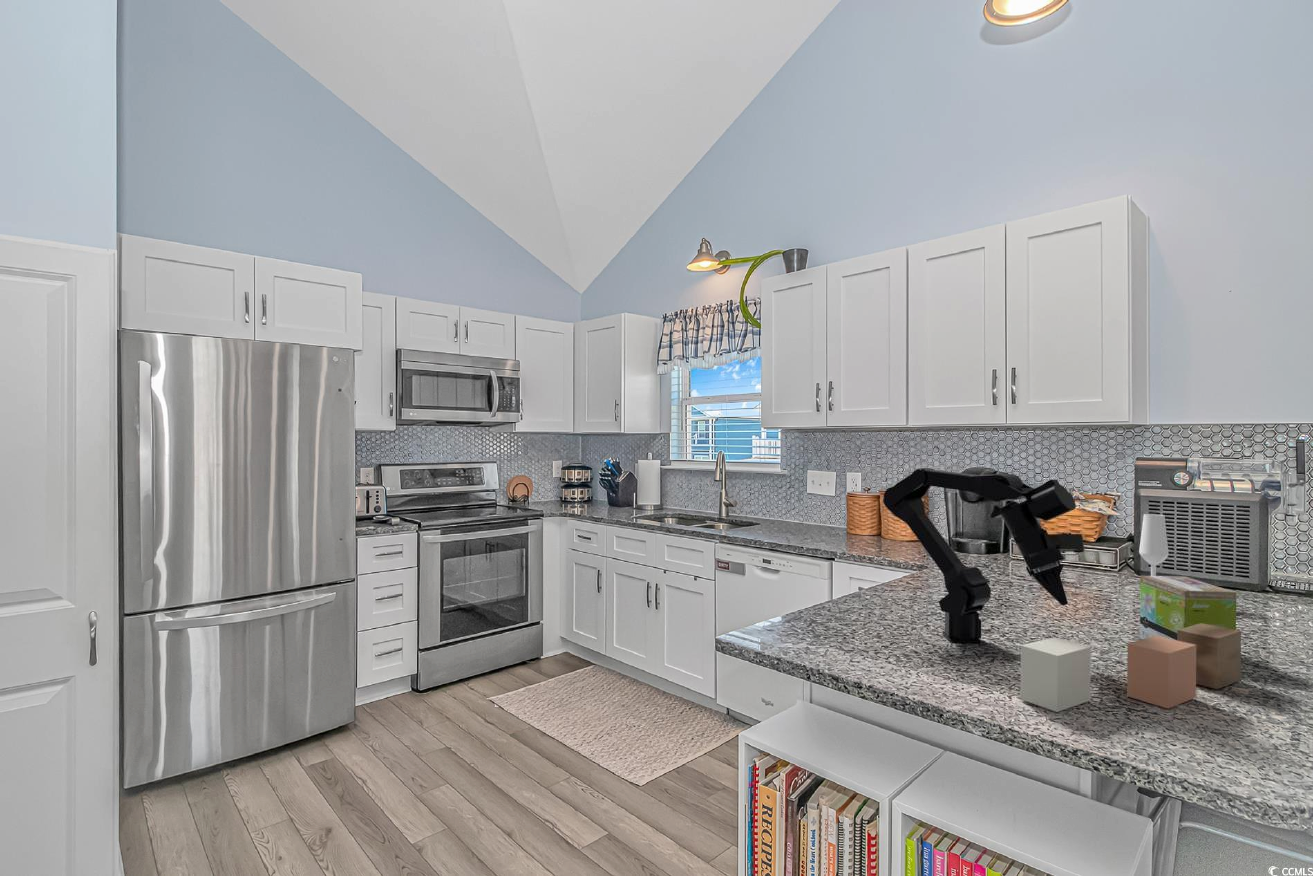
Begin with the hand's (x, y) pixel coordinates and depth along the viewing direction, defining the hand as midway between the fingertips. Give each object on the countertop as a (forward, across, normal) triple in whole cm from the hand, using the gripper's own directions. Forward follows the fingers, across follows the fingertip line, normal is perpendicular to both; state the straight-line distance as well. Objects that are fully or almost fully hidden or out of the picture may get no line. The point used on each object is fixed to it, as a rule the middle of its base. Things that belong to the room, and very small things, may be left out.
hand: (1065, 604), depth 127 cm
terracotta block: (+19, -6, -6) cm, 21 cm away
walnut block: (+19, +9, -16) cm, 27 cm away
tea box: (+15, +29, -18) cm, 37 cm away
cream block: (+14, -18, +9) cm, 24 cm away
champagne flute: (+3, +84, -25) cm, 88 cm away
